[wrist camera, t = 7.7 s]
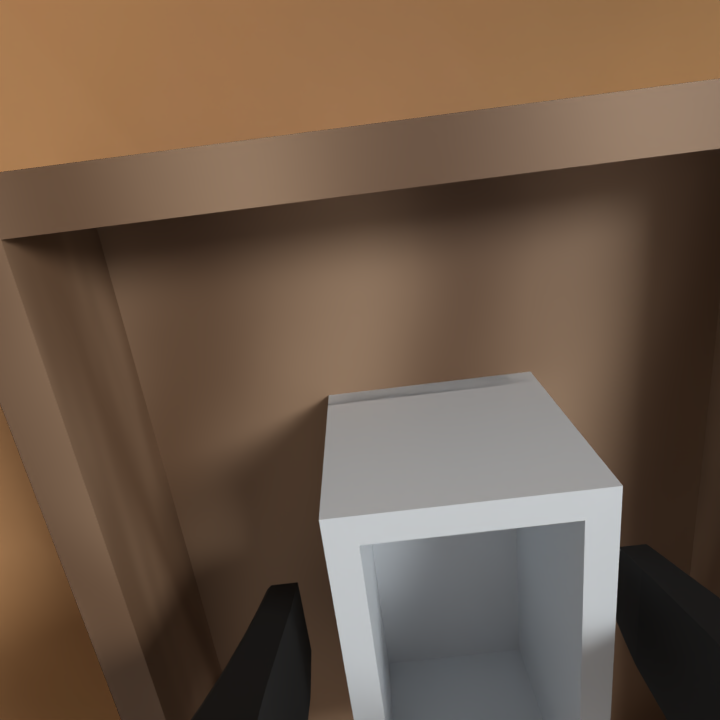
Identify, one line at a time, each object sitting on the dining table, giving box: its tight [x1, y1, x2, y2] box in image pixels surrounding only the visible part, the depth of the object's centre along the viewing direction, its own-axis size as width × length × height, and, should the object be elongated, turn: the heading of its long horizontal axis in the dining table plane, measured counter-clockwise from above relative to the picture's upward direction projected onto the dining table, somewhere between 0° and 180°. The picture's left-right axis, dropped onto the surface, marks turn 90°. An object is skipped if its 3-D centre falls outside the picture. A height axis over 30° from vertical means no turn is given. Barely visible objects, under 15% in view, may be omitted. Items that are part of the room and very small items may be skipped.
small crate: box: [319, 372, 623, 720], centre depth 13 cm, size 5×9×5 cm, turn 7°
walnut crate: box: [0, 79, 720, 720], centre depth 14 cm, size 16×20×4 cm
